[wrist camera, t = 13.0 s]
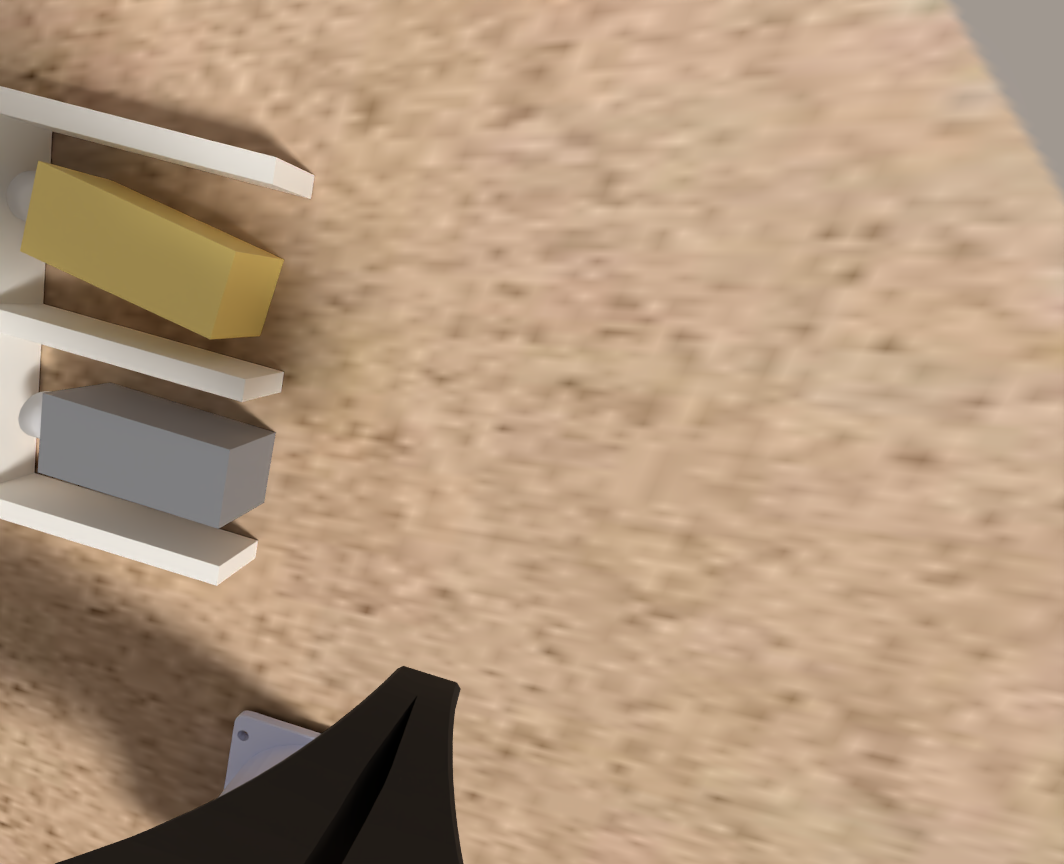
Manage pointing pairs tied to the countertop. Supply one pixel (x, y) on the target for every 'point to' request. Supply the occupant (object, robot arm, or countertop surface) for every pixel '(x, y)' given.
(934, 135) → the countertop surface
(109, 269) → the mustard plug
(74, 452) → the charcoal plug
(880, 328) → the countertop surface
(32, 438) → the rack
